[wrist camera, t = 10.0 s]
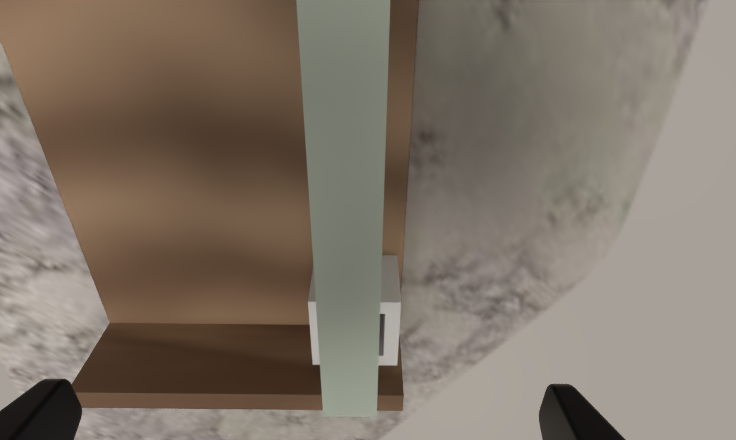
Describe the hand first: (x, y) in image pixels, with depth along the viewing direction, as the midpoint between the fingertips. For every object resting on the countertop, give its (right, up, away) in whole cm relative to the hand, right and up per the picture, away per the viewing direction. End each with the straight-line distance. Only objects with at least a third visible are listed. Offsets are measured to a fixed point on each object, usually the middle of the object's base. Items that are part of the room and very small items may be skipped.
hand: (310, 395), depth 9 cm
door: (+1, +6, +9) cm, 11 cm away
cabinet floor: (-4, +6, +10) cm, 13 cm away
